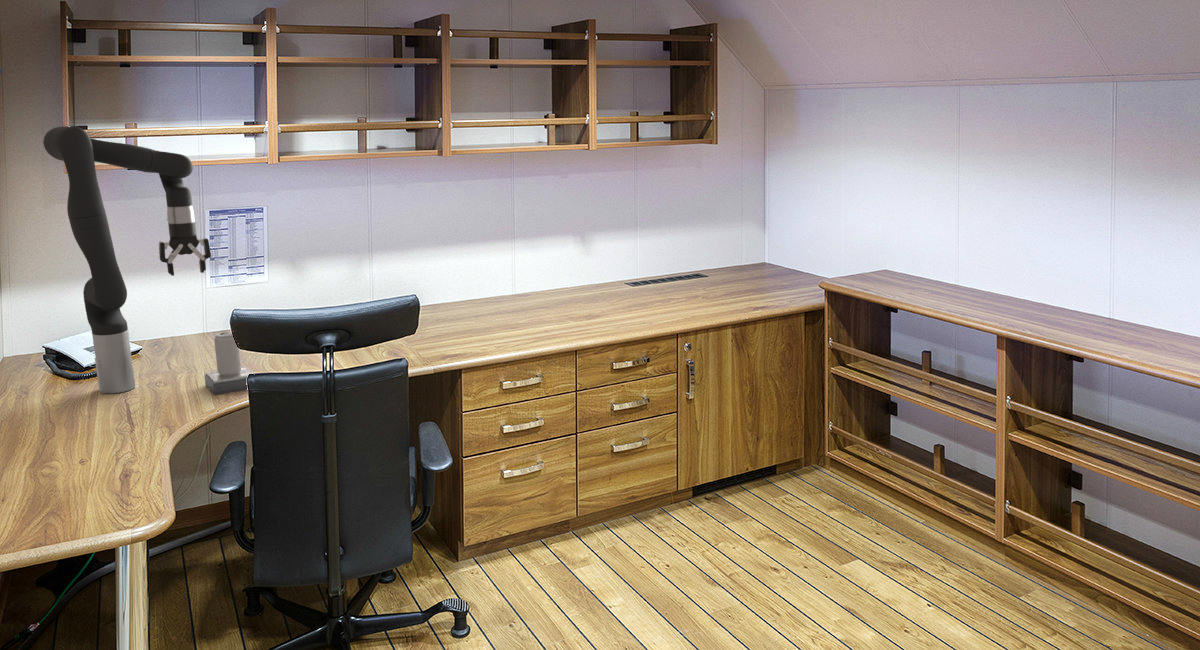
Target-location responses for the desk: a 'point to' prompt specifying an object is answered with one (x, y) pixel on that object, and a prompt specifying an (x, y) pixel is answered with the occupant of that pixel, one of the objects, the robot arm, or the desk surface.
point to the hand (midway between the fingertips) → (187, 273)
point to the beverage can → (227, 354)
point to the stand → (226, 381)
